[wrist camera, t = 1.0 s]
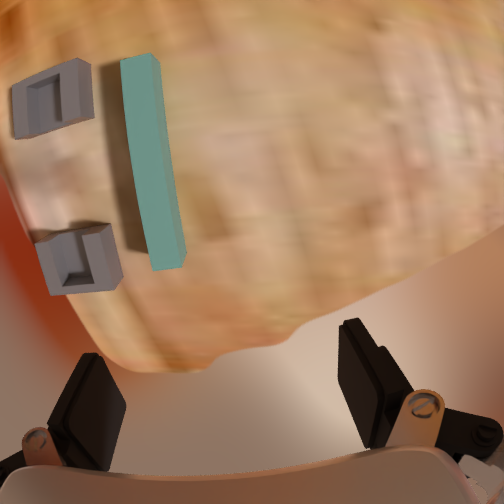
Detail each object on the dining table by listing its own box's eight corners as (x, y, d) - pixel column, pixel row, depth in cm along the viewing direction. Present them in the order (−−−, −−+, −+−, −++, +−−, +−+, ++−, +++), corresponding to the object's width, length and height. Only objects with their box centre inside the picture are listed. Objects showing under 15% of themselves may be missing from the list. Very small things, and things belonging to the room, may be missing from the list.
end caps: (28, 88, 26) (11, 85, 22) (90, 64, 26) (77, 57, 23) (62, 283, 34) (50, 295, 31) (123, 276, 35) (114, 290, 31)
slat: (133, 69, 27) (119, 60, 23) (160, 63, 27) (150, 52, 23) (161, 255, 34) (152, 271, 30) (187, 251, 35) (181, 267, 30)
